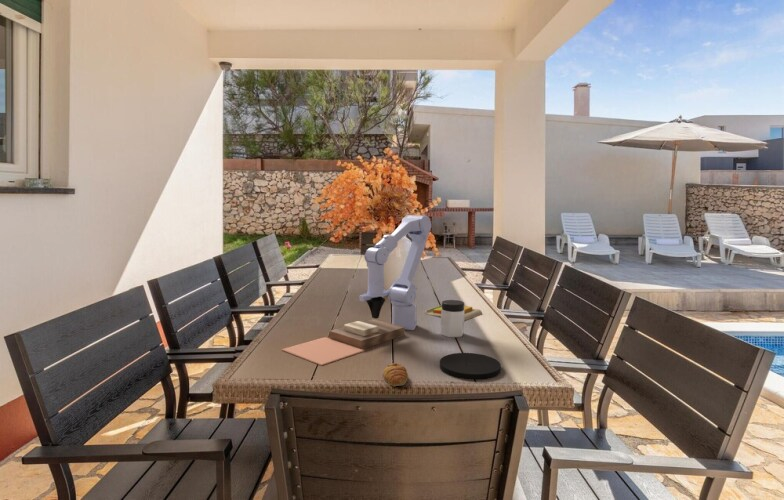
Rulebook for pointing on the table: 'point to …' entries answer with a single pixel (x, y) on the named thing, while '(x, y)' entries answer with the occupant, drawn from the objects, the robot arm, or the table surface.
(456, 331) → the jar
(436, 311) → the wooden puzzle
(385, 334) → the walnut board
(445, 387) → the table surface
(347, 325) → the birch tile
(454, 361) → the wireless charger
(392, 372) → the pastry
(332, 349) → the terracotta mat
